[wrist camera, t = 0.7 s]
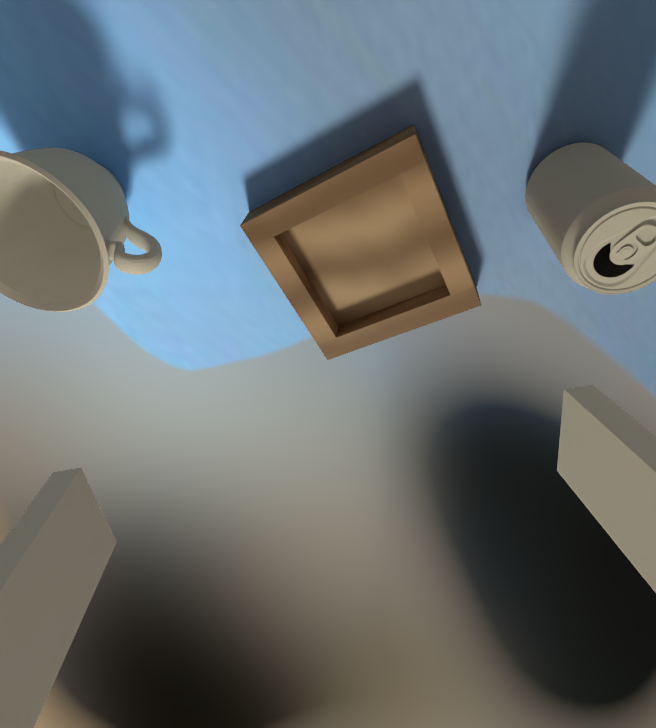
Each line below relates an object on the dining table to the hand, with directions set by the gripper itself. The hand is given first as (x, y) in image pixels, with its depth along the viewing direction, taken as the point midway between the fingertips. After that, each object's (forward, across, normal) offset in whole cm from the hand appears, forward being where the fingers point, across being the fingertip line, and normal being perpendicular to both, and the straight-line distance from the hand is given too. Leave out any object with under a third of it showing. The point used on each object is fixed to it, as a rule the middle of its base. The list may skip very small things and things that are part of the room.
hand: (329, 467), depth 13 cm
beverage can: (+27, +21, +2) cm, 34 cm away
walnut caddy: (+30, +5, -1) cm, 31 cm away
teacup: (+34, -16, +6) cm, 38 cm away
